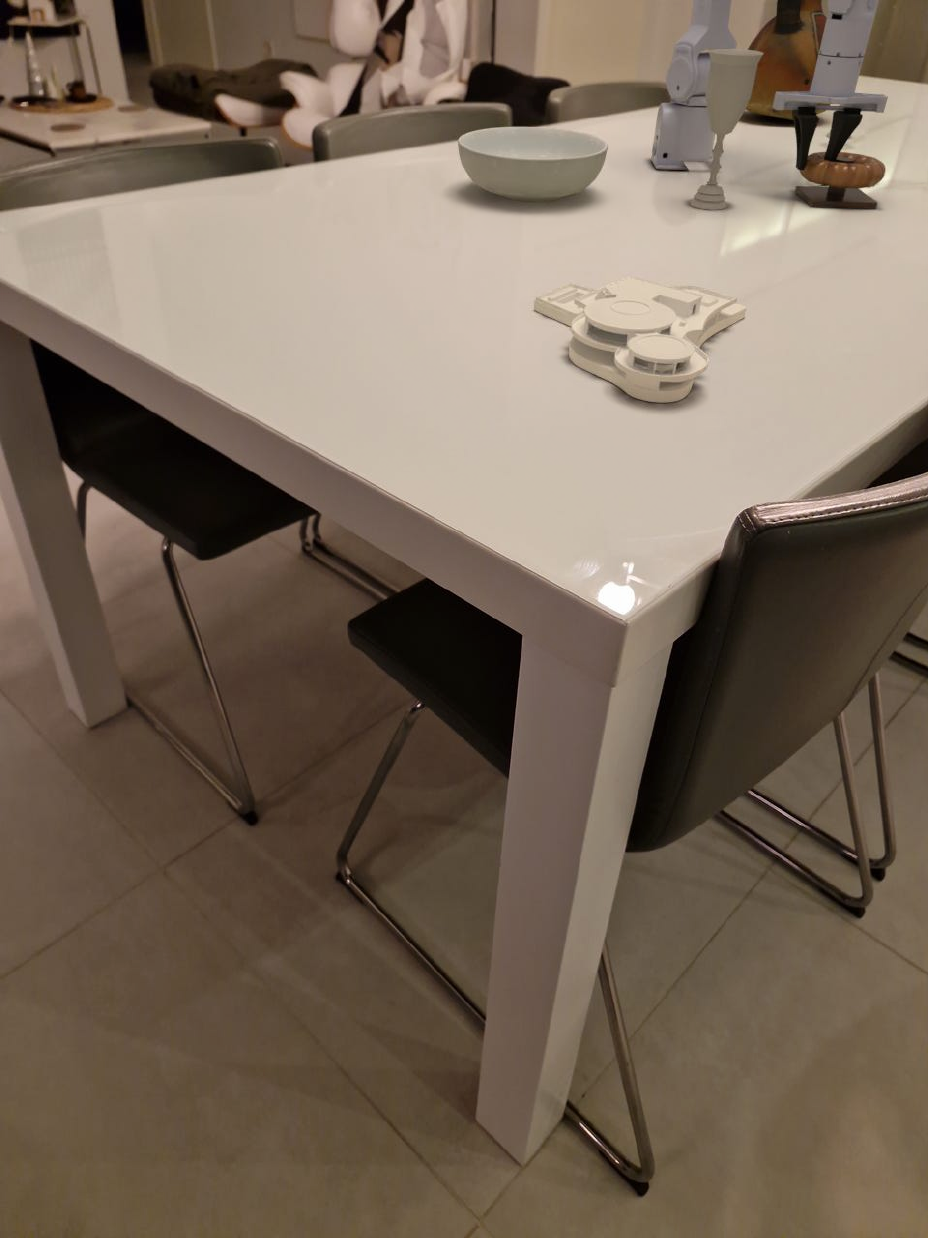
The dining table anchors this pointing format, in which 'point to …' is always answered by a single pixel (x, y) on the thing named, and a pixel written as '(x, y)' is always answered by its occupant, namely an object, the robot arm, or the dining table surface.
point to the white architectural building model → (641, 332)
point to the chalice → (725, 110)
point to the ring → (844, 171)
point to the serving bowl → (532, 161)
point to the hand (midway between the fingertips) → (813, 169)
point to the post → (836, 195)
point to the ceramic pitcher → (787, 54)
